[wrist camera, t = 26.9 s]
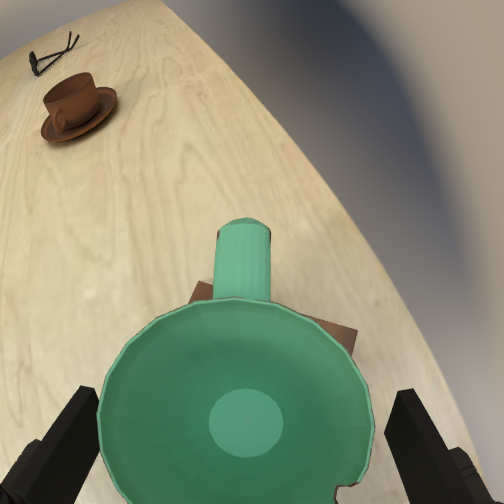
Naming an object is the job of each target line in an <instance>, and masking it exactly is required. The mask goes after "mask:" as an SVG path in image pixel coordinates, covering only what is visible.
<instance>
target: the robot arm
mask: <svg viewBox="0 0 504 504" xmlns="http://www.w3.org/2000/svg"><path fill="white" fill-rule="evenodd" d="M98 405H99V399H98V397H97V394H96V391H95V389H94V388H91V387H86V386H80V387H79V389H78V390H77V391H76V393H75V394H74V395H73V397H72V398H71V399H70V401H69V402H68V404H67V405H66V406H65V408H64V409H63V411H62V412H61V413H60V415H59V416H58V418H57V419H56V420H55V422H54V423H53V425H52V426H51V428H50V429H49V430H48V432H47V433H46V435H45V436H44V438H43V439H42V441H40V440H37V439H35V440H33V441H32V442H31V443H29V444H28V445H27V446H26V447H25V449H24V450H23V452H22V455H20V456H19V457H18V459H17V461H16V462H15V463H14V465H13V466H12V468H11V469H10V471H9V472H8V474H7V475H6V477H5V478H4V480H3V481H2V483H1V484H0V504H74V502H75V500H76V498H77V496H78V494H79V492H80V490H81V488H82V486H83V484H84V482H85V480H86V478H87V475H88V473H89V471H90V469H91V467H92V465H93V463H94V461H95V459H96V457H97V455H98V453H99V451H100V448H99V438H98V426H97V409H98ZM384 435H385V437H386V440H387V442H388V445H389V448H390V450H391V453H392V455H393V458H394V461H395V463H396V466H397V469H398V471H399V474H400V477H401V480H402V482H403V485H404V488H405V491H406V494H407V496H408V499H409V502H410V504H504V503H501V502H495V501H494V500H493V499H492V497H491V496H490V494H489V492H488V490H487V488H486V486H485V484H484V483H483V481H482V479H481V477H480V475H479V473H477V470H476V468H475V466H474V465H473V463H472V461H471V459H470V457H469V456H468V454H467V453H466V452H465V451H463V450H462V449H461V448H460V447H456V448H453V449H451V450H448V448H447V446H446V445H445V443H444V441H443V439H442V437H441V436H440V434H439V432H438V430H437V428H436V427H435V425H434V423H433V421H432V420H431V418H430V416H429V414H428V413H427V411H426V409H425V407H424V406H423V404H422V402H421V401H420V399H419V397H418V395H417V394H416V392H415V390H414V389H413V388H412V389H407V390H401V391H398V392H397V395H396V399H395V402H394V405H393V408H392V411H391V414H390V417H389V420H388V423H387V425H386V428H385V431H384Z"/></svg>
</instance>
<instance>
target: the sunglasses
mask: <svg viewBox="0 0 504 504" xmlns="http://www.w3.org/2000/svg"><path fill="white" fill-rule="evenodd" d="M71 34H72V33H71V31H70V33H69V40H68V46H67V48H66V49H65V50H64V51H61V52H58V53H55V54H52V55H49V56H46V57H43V58H41V59H38V60H37V59H36V56H35V54H34V52H33V51H32V52H30V54H29V58H30V59H29V61H30V64H31V67H32V71H33V72H34V74H35V75H36V76H38V75H40V74H42V73H43V72H44V71H45V70H46V69H47V68H48V67H50V66H51V65H52V64H53V63H54V62H55V61H57V60H58V59H59V58H60V57H61V56H62V55H63V54H64V53H65V52H67V51H70V50H71V49H72V48H73V47H74V46H75V44H76V42H77V41H78V39H79V37H80V36H79V34H78V35H77V37H76V39H75V41H74V43H73V45H72V47H71V48H69V45H70V39H71ZM68 48H69V49H68ZM61 53H62V54H61ZM58 54H60V55H59V56H58V57H57V58H56V59H54V60H53V61H52V62H51V63H50V64H49V65H47V66H46V67H45V68H44V69H43V70H42V71H40V73H39V72H38V70H37V68H36V66H37V63H38V61H41V60H44V59H46V58H49V57H52V56H55V55H58Z"/></svg>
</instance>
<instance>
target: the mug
mask: <svg viewBox="0 0 504 504" xmlns="http://www.w3.org/2000/svg"><path fill="white" fill-rule="evenodd" d="M270 244H271V231H270V229H269V228H268V227H267V226H266V225H264V224H263V223H261V222H259V221H257V220H255V219H253V218H241V219H236V220H233V221H231V222H229V223H228V224H226V225H225V226H223V227H222V228H221V229H220V230H219V231H218V233H217V242H216V252H215V264H214V282H213V299H209V300H201V301H194V302H191V303H189V304H187V305H184V306H182V307H180V308H177V309H175V310H173V311H170V312H168V313H166V314H163V315H161V316H159V317H156V318H155V319H154V320H153V321H152V322H150V323H149V324H148V325H147V326H146V327H144V328H143V329H142V330H141V331H140V332H139V333H137V334H136V335H135V336H134V337H133V338H131V339H130V340H129V341H128V342H127V343H126V344H125V346H124V347H123V349H122V350H121V352H120V354H119V355H118V357H117V358H116V360H115V361H114V363H113V365H112V366H111V368H110V369H109V371H108V373H107V374H106V377H105V380H104V384H103V388H102V392H101V396H100V400H99V405H98V409H97V426H98V438H99V448H100V453H101V456H102V458H103V461H104V463H105V465H106V468H107V470H108V472H109V475H110V477H111V479H112V481H113V483H114V486H115V488H116V490H117V491H118V492H119V493H120V494H121V495H122V497H123V498H124V499H125V500H126V501H127V502H128V504H338V502H337V500H336V495H337V490H338V487H343V486H347V487H352V486H354V485H357V484H359V483H360V482H361V480H362V478H363V477H364V475H365V473H366V471H367V469H368V467H369V462H370V456H371V451H372V445H373V439H374V432H375V421H374V416H373V410H372V405H371V399H370V394H369V389H368V385H367V383H366V381H365V380H364V378H363V376H362V374H361V373H360V371H359V369H358V367H357V366H356V364H355V362H354V360H353V359H352V357H351V355H350V354H349V352H348V350H347V349H346V348H345V347H344V346H343V345H342V344H341V343H339V342H338V341H337V340H336V339H335V338H334V337H333V336H332V335H331V334H330V333H328V332H327V331H326V330H325V329H324V328H323V327H322V326H321V325H320V324H318V323H317V322H316V321H315V320H313V319H310V318H308V317H306V316H304V315H302V314H300V313H298V312H295V311H293V310H291V309H289V308H287V307H285V306H283V305H281V304H278V303H275V302H270Z"/></svg>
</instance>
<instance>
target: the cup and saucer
mask: <svg viewBox="0 0 504 504" xmlns="http://www.w3.org/2000/svg"><path fill="white" fill-rule="evenodd" d="M116 99H117V95H116V92H115V90H114V89H112V88H109V87H98V88H96V87H95V84H94V81H93V78H92V75H91V74H90V73H87V72H85V73H79V74H76V75H73V76H71V77H69V78H67V79H65V80H63V81H61V82H60V83H58V84H57V85H55V86H54V87H53V88H52V89H51V90H50V91H49V92H48V93H47V94H46V95H45V97H44V99H43V102H44V104H45V106H46V108H47V110H48V112H49V114H50V115H49V116H48V117H47V119H46V120H45V122H44V123H43V125H42V128H41V135H42V137H43V138H44V139H45V140H47V141H50V142H62V141H67V140H70V139H73V138H75V137H78V136H80V135H82V134H84V133H85V132H87V131H89V130H90V129H92V128H93V127H95V126H96V125H97V124H99V123H100V122H101V121H102V120H103V119H104V118H105V117H106V116H107V115H108V114H109V113H110V111H111V110H112V108H113V107H114V105H115V103H116Z"/></svg>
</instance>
